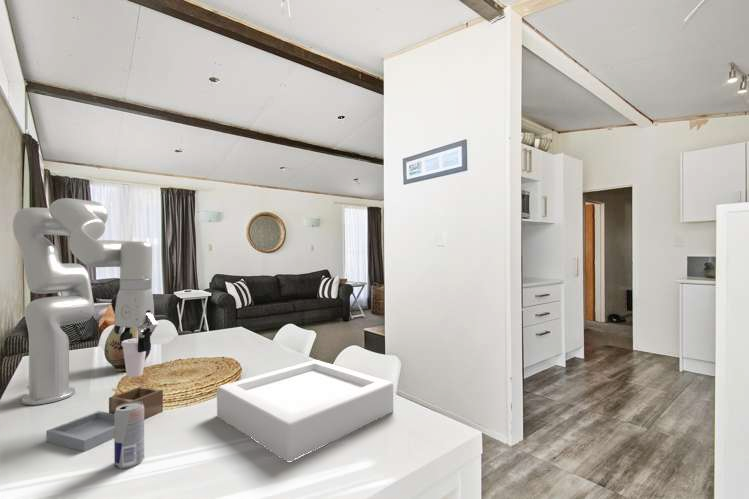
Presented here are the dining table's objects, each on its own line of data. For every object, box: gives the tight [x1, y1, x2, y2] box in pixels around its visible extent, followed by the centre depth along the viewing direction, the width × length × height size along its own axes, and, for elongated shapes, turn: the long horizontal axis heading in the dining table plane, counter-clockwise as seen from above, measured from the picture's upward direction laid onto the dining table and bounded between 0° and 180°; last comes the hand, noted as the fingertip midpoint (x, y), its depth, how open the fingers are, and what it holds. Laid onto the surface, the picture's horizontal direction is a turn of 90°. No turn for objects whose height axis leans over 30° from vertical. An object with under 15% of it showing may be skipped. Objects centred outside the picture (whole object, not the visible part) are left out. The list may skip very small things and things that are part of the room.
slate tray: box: [45, 410, 114, 452], centre depth 92 cm, size 14×12×2 cm
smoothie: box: [121, 328, 146, 378], centre depth 103 cm, size 6×6×14 cm
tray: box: [216, 359, 394, 462], centre depth 103 cm, size 35×35×9 cm
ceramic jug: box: [103, 293, 152, 372], centre depth 146 cm, size 17×15×30 cm
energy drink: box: [113, 402, 145, 470], centre depth 80 cm, size 5×5×12 cm
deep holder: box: [108, 386, 164, 421], centre depth 103 cm, size 9×9×6 cm
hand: (134, 349), depth 103 cm, fingers closed on smoothie, 6 cm apart
